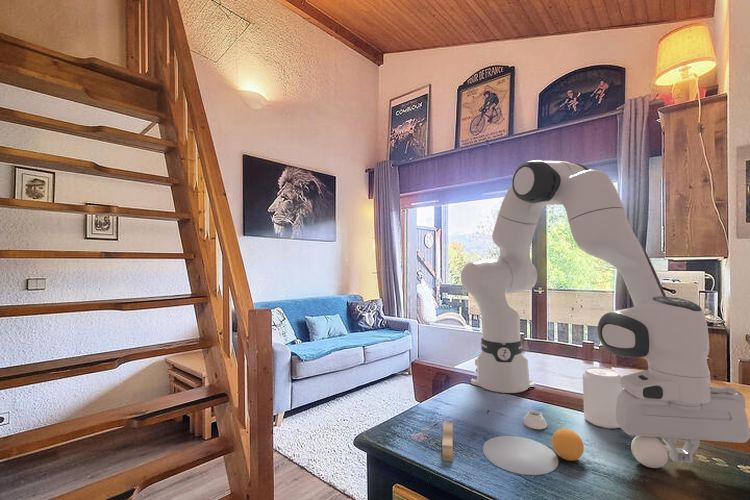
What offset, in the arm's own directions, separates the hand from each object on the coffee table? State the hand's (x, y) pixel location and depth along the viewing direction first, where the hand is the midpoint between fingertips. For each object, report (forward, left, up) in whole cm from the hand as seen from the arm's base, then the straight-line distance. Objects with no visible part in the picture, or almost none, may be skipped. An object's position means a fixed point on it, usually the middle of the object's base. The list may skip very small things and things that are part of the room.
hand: (680, 460), depth 67 cm
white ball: (+1, -5, +1) cm, 6 cm away
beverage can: (-17, -6, -1) cm, 19 cm away
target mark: (+1, -28, -1) cm, 28 cm away
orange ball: (+1, -19, +1) cm, 20 cm away
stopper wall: (+1, -42, -1) cm, 42 cm away
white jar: (-13, -22, -2) cm, 26 cm away
